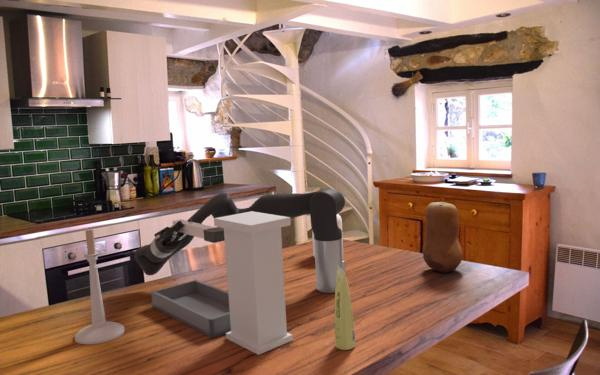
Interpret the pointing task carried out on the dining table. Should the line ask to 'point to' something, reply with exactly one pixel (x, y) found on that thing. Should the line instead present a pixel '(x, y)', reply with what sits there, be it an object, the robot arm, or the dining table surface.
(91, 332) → the candlestick
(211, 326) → the bin
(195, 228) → the plug rod
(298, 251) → the dining table surface
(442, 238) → the butternut squash
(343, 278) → the tube
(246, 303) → the stand
